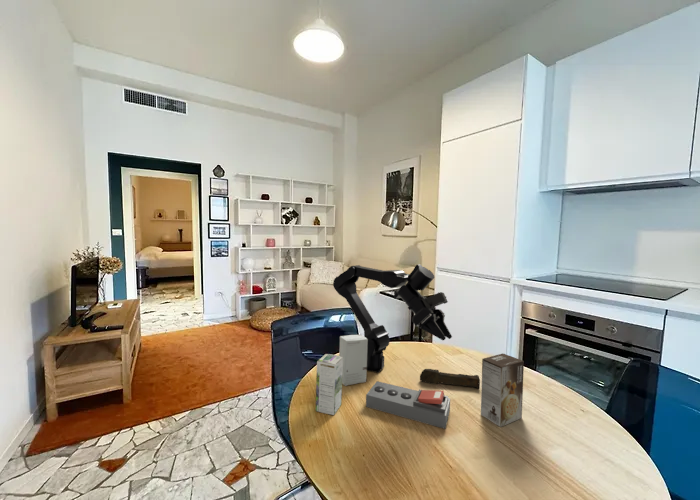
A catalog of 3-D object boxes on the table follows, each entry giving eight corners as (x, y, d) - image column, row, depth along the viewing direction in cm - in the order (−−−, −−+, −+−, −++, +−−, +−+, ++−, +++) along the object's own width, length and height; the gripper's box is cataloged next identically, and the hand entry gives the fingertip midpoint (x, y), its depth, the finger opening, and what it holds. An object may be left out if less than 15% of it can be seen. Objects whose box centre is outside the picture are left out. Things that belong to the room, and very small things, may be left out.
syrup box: (323, 401, 88) (324, 352, 87) (342, 405, 86) (343, 355, 85) (315, 411, 83) (315, 360, 82) (334, 416, 81) (335, 363, 80)
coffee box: (501, 406, 87) (503, 352, 86) (522, 418, 81) (525, 360, 80) (479, 414, 83) (481, 358, 82) (500, 428, 77) (503, 367, 76)
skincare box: (344, 386, 97) (345, 341, 96) (337, 378, 102) (338, 335, 102) (367, 382, 100) (368, 338, 99) (360, 374, 106) (360, 332, 105)
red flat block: (418, 403, 81) (418, 398, 81) (422, 394, 85) (421, 389, 85) (441, 404, 78) (440, 399, 78) (444, 395, 83) (443, 390, 83)
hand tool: (477, 384, 100) (478, 371, 100) (480, 390, 96) (480, 376, 96) (419, 378, 104) (420, 365, 104) (420, 383, 100) (420, 370, 100)
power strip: (365, 406, 86) (366, 391, 85) (376, 391, 94) (377, 377, 93) (445, 428, 76) (446, 411, 76) (449, 410, 84) (450, 395, 84)
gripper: (424, 279, 89) (462, 321, 81) (438, 286, 105) (472, 321, 97) (397, 304, 91) (432, 347, 84) (415, 307, 107) (446, 343, 99)
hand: (447, 338), depth 91 cm, fingers open, 9 cm apart
